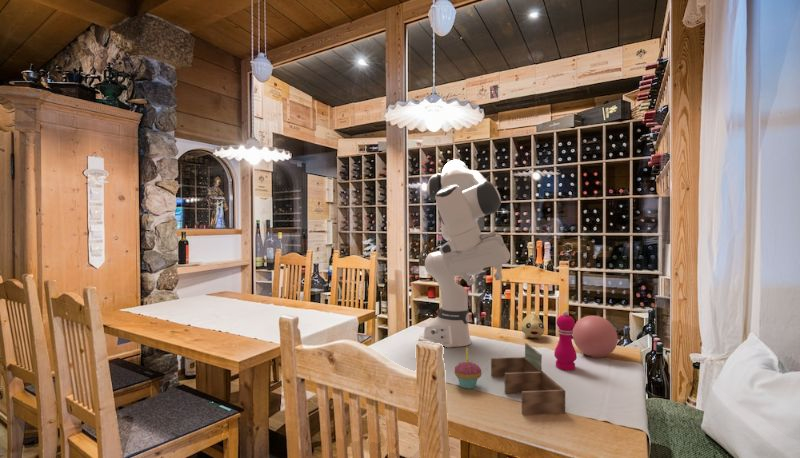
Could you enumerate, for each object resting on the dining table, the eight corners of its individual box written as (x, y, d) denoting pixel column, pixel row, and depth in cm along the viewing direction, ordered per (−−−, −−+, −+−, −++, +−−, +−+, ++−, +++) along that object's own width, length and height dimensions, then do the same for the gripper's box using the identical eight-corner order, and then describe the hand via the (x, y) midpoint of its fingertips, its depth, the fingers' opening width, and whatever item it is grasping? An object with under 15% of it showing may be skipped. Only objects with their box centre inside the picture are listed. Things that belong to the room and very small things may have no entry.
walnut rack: (522, 414, 105) (522, 373, 104) (491, 375, 131) (491, 343, 131) (565, 412, 106) (565, 372, 106) (525, 374, 132) (525, 342, 132)
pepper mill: (552, 363, 143) (552, 308, 142) (573, 364, 142) (573, 309, 141) (556, 370, 136) (557, 312, 135) (579, 371, 134) (579, 313, 134)
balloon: (599, 346, 162) (599, 308, 162) (625, 363, 142) (626, 321, 142) (561, 345, 163) (561, 308, 162) (582, 363, 143) (583, 321, 142)
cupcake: (452, 380, 127) (452, 343, 127) (478, 379, 128) (478, 343, 128) (457, 391, 119) (457, 352, 119) (484, 391, 119) (485, 352, 119)
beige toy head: (522, 341, 168) (523, 316, 168) (519, 333, 180) (519, 310, 180) (547, 343, 166) (547, 318, 166) (542, 334, 178) (542, 311, 178)
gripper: (503, 226, 110) (521, 271, 112) (444, 243, 123) (461, 282, 125) (494, 234, 106) (513, 280, 107) (434, 250, 118) (452, 291, 120)
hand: (485, 281), depth 116 cm, fingers open, 8 cm apart
